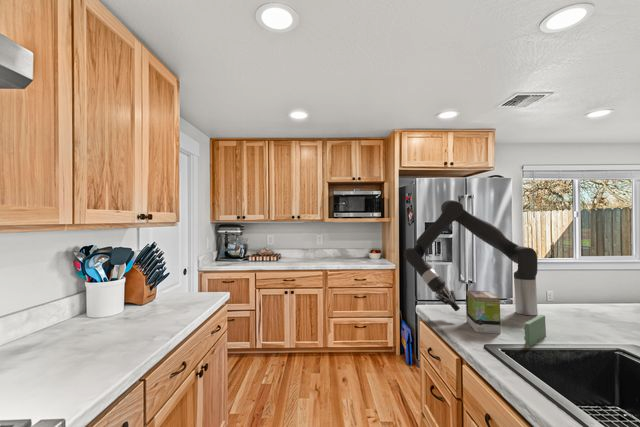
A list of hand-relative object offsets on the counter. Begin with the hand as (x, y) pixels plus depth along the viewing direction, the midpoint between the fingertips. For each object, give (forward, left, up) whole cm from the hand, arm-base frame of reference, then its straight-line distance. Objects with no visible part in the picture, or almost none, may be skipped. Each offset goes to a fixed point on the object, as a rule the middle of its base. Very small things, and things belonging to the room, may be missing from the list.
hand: (457, 309), depth 142 cm
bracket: (+1, +31, -5) cm, 31 cm away
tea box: (0, +11, -6) cm, 12 cm away
